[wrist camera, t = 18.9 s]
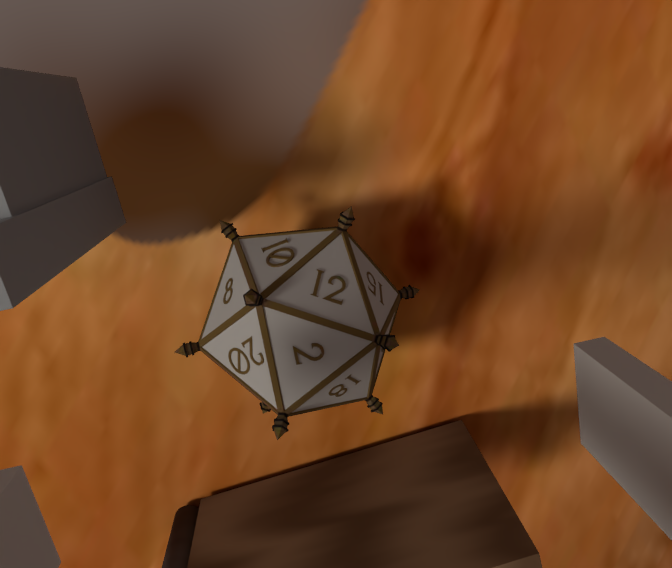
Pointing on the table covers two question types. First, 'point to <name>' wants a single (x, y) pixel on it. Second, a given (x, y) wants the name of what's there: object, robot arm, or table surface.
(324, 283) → the game die
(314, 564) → the door
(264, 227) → the table surface
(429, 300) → the table surface
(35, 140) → the grey upright posts
